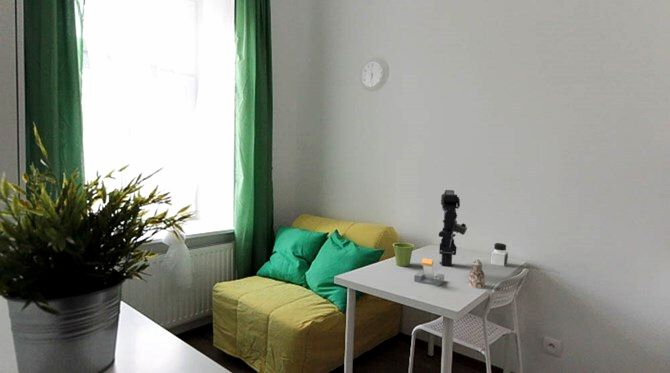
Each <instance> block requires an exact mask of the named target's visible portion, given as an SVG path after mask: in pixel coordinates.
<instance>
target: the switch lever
mask: <svg viewBox="0 0 670 373" xmlns="http://www.w3.org/2000/svg"><path fill="white" fill-rule="evenodd" d="M421 266H422V268H423V271H424V274H425V277H427V278H432V279H433V278H434V277H435V272H434V270H435V269H434V260H433V259H429V258H422V260H421Z"/></svg>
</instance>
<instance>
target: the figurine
mask: <svg viewBox="0 0 670 373" xmlns="http://www.w3.org/2000/svg"><path fill="white" fill-rule="evenodd" d="M482 267H483V263H482V262H481V261H480V259H477V260H474V261H473V263H472V269H471V270H470V273H469V276H468V286H470V287H471V288H475V289H483V288H485V284H486V278H485V272H484V271H483V270H482V269H483V268H482Z"/></svg>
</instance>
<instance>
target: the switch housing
mask: <svg viewBox="0 0 670 373" xmlns="http://www.w3.org/2000/svg"><path fill="white" fill-rule="evenodd" d="M413 279H414V280H413V281H414V282H416V283H422V284H427V285H432V286H437V287H440V286H441V285H442V284H443V282H445V274H443V273H436V274H435V275H434V278H433V279H432V278H427V277H425V274H424V270H419V271H418V272H417V273H415V274H414V278H413Z"/></svg>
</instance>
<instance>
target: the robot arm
mask: <svg viewBox="0 0 670 373" xmlns="http://www.w3.org/2000/svg"><path fill="white" fill-rule="evenodd" d="M460 202H461V199H460V197H459V196H458V194H455V191H454V190H453V189H452V190H451V189H446V190H444V193H442V194H441V198H440V204H441V208H442V211H443V212H444V214H443V220H442V223H443V227H442V230H441V231H439V232H438V237H439V238H441V240H440V243H439V250H438V252H439V255H441V258H440V259H441V261H439V264H440V265H441V266H443V267H454V266H455V265H454V263H453V256H456V255H457V246H456V243H455V239H454V238H455V237H456V236H457V234H458V233H459V234H460V235H465V234H466V232H467V231H468V227H467V225H466V223H464V222H463V223H462V224H459V223H458V221H457V218H458V213H457V209H459V208H460V206H461V203H460ZM455 233H456V234H455Z"/></svg>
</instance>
